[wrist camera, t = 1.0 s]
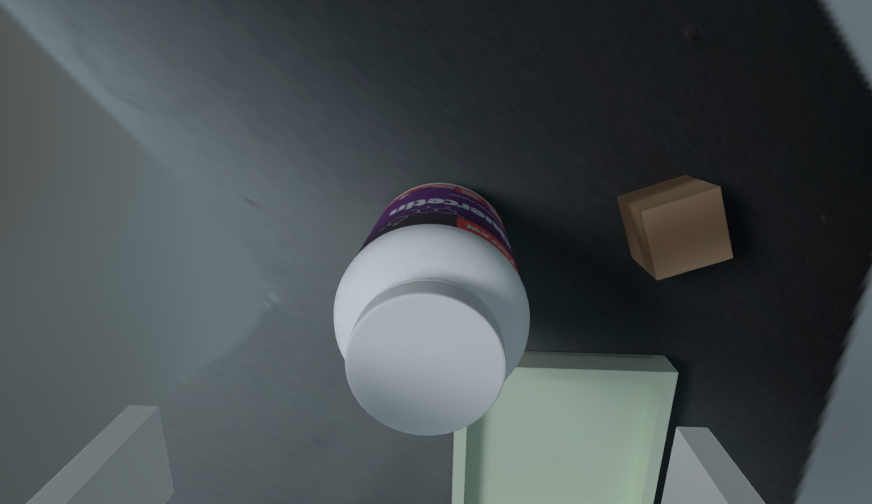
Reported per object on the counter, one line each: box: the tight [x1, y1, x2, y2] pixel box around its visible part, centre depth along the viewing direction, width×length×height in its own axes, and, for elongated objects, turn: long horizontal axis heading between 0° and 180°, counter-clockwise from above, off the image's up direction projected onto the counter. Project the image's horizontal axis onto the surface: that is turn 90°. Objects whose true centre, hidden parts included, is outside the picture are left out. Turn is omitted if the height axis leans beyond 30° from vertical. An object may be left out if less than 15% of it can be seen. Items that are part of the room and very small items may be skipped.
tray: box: [451, 351, 678, 504], centre depth 33 cm, size 14×14×2 cm
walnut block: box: [617, 175, 733, 280], centre depth 27 cm, size 4×4×4 cm
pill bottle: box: [334, 183, 530, 436], centre depth 23 cm, size 8×8×14 cm
